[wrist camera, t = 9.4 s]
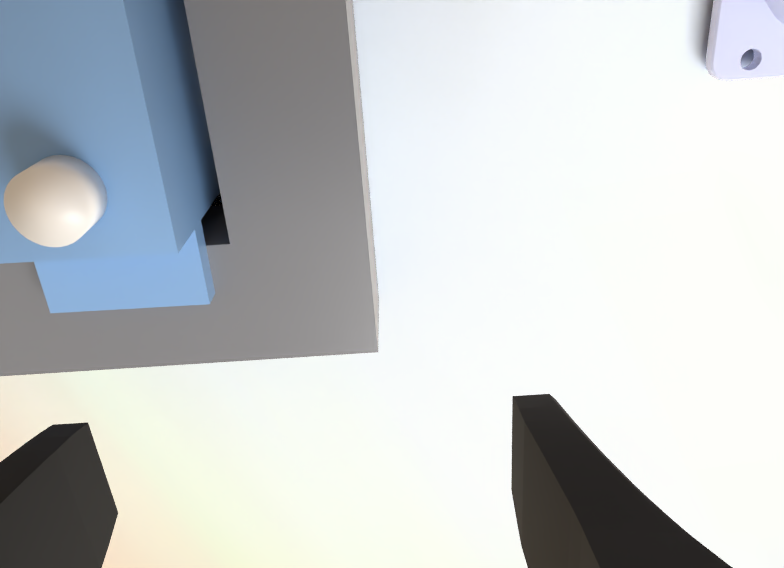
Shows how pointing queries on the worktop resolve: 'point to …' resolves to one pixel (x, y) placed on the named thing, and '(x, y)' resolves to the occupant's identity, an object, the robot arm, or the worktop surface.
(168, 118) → the servo
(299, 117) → the chassis
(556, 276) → the worktop surface
